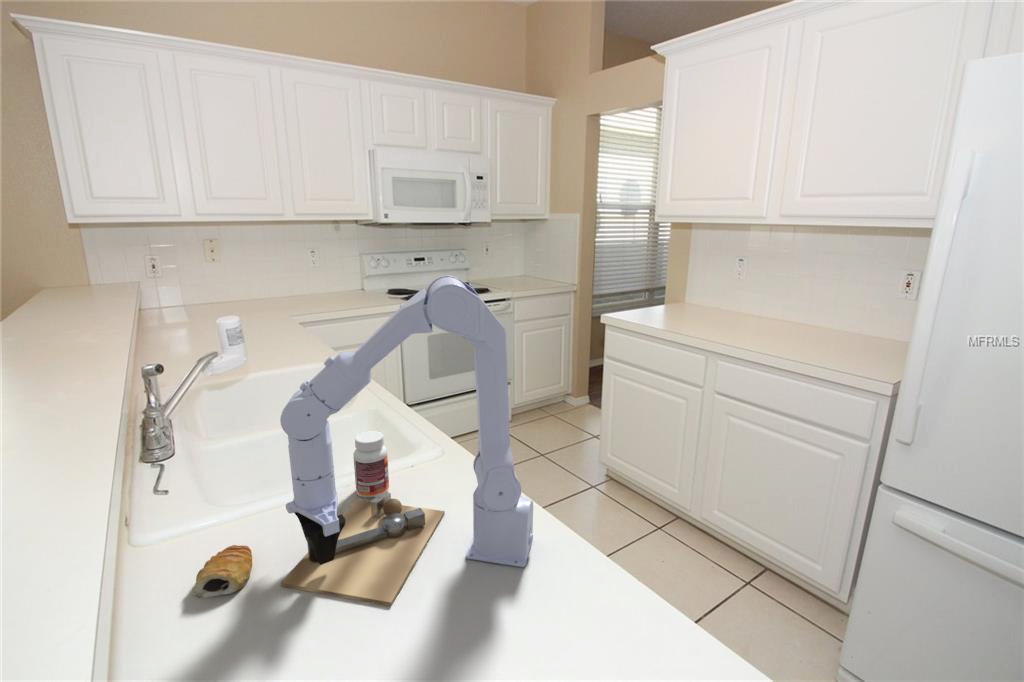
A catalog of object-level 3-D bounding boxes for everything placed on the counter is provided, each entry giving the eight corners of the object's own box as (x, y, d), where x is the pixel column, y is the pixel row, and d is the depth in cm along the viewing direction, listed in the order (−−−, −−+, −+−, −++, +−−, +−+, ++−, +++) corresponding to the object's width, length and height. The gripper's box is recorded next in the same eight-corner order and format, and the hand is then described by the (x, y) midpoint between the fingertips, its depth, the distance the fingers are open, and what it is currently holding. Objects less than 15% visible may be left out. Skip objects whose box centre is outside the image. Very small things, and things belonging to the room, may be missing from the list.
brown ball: (405, 512, 89) (404, 496, 88) (397, 522, 86) (397, 506, 85) (388, 509, 89) (387, 493, 88) (380, 520, 86) (379, 503, 85)
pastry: (217, 557, 78) (214, 535, 77) (263, 553, 79) (261, 531, 78) (191, 602, 69) (187, 578, 68) (243, 596, 70) (240, 573, 69)
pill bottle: (393, 493, 96) (391, 438, 93) (361, 502, 92) (357, 446, 89) (382, 478, 101) (379, 426, 98) (351, 487, 97) (348, 434, 94)
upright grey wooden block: (385, 505, 90) (384, 491, 90) (391, 508, 90) (390, 493, 89) (371, 516, 87) (370, 501, 87) (377, 518, 87) (376, 503, 86)
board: (444, 514, 89) (444, 511, 89) (391, 606, 68) (391, 602, 68) (356, 501, 93) (356, 499, 92) (280, 586, 72) (280, 582, 72)
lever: (419, 516, 87) (418, 489, 86) (427, 527, 84) (426, 499, 83) (306, 552, 78) (303, 522, 76) (311, 565, 75) (308, 534, 73)
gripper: (271, 458, 76) (280, 536, 79) (297, 503, 64) (306, 591, 68) (319, 446, 80) (325, 521, 83) (351, 486, 68) (357, 570, 72)
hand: (320, 551), depth 76 cm, fingers open, 5 cm apart
